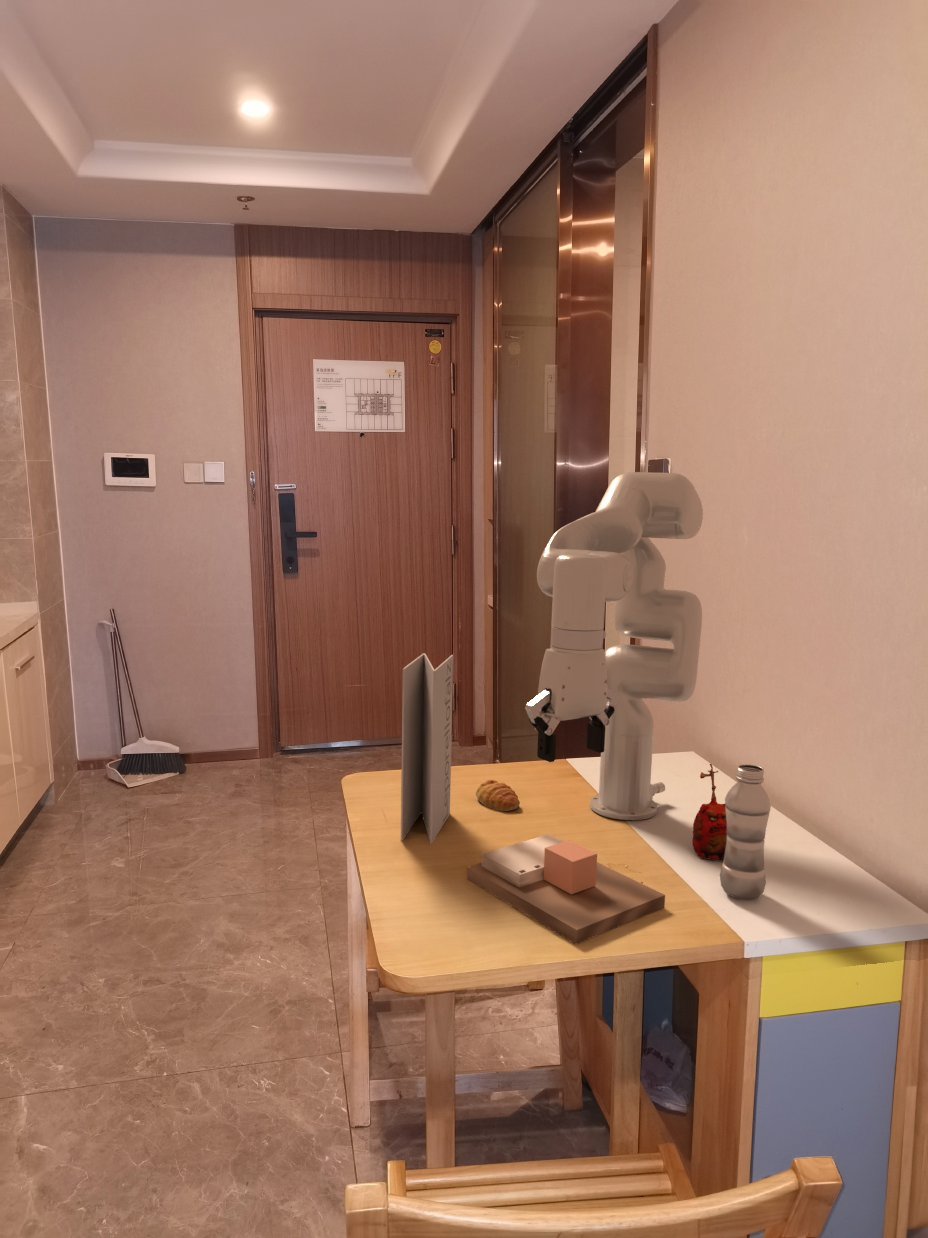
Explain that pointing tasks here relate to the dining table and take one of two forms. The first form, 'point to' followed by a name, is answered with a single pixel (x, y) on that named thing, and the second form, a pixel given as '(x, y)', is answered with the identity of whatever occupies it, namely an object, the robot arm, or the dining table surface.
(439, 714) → the brochure
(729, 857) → the plastic bottle
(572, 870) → the salmon upright block
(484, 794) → the pastry
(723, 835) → the red clay folk toy
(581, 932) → the wooden base board
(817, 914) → the dining table surface
